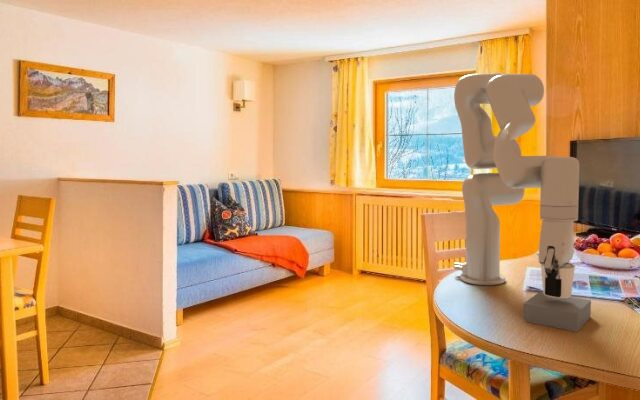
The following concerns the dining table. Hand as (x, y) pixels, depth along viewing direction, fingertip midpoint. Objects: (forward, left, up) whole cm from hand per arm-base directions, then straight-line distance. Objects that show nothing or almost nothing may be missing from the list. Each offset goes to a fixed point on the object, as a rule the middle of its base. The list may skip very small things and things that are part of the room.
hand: (557, 291), depth 106 cm
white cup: (0, 0, -1) cm, 1 cm away
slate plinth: (0, 0, -6) cm, 6 cm away
